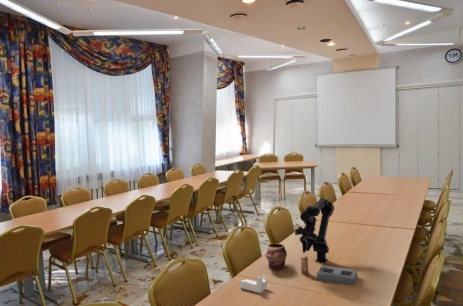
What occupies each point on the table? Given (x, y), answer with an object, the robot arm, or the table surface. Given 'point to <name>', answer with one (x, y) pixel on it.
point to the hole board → (337, 275)
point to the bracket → (255, 284)
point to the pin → (304, 265)
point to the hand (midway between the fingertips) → (305, 252)
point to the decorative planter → (276, 256)
